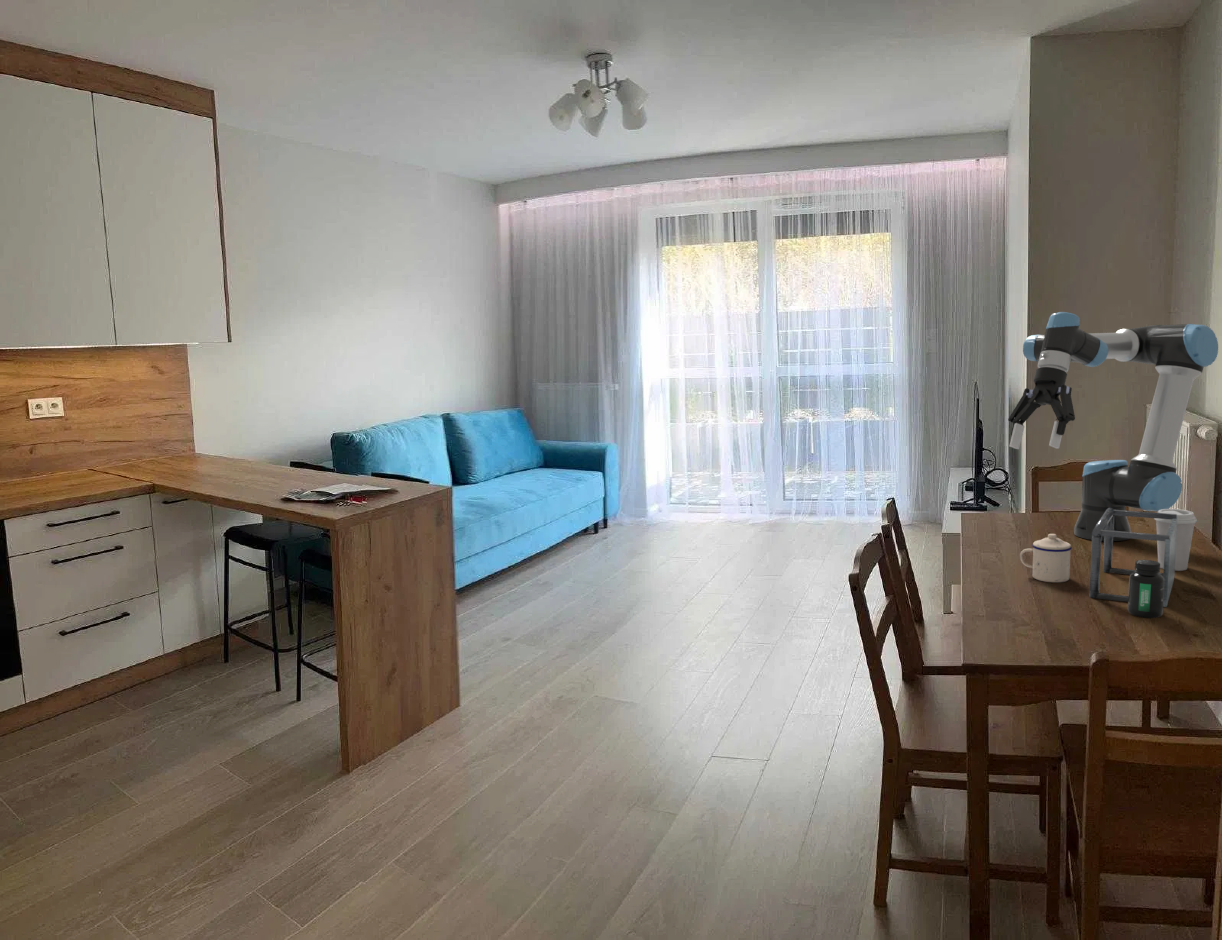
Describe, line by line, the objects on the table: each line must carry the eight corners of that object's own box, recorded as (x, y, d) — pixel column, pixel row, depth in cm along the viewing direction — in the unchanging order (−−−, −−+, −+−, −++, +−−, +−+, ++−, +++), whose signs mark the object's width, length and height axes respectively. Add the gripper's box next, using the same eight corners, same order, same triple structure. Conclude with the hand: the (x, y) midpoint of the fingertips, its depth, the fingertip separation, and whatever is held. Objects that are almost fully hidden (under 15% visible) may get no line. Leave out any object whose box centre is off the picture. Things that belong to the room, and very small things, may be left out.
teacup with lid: (1072, 575, 236) (1073, 532, 234) (1068, 584, 228) (1070, 539, 226) (1022, 570, 242) (1023, 528, 240) (1016, 579, 235) (1018, 535, 233)
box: (1103, 570, 239) (1106, 507, 237) (1174, 577, 230) (1178, 512, 228) (1088, 597, 218) (1091, 528, 215) (1166, 607, 208) (1170, 535, 206)
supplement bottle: (1148, 620, 200) (1151, 568, 198) (1120, 612, 206) (1123, 561, 205) (1169, 615, 203) (1172, 563, 201) (1141, 607, 209) (1143, 556, 207)
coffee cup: (1194, 573, 233) (1197, 517, 230) (1151, 569, 238) (1154, 514, 235) (1193, 564, 241) (1197, 509, 238) (1152, 561, 246) (1154, 507, 243)
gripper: (1006, 370, 249) (988, 444, 247) (1079, 360, 225) (1060, 442, 224) (1026, 379, 251) (1009, 452, 250) (1102, 370, 228) (1083, 451, 226)
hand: (1033, 447), depth 237 cm, fingers open, 13 cm apart
